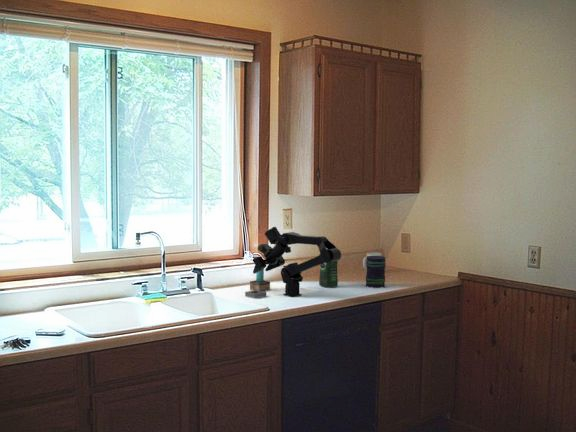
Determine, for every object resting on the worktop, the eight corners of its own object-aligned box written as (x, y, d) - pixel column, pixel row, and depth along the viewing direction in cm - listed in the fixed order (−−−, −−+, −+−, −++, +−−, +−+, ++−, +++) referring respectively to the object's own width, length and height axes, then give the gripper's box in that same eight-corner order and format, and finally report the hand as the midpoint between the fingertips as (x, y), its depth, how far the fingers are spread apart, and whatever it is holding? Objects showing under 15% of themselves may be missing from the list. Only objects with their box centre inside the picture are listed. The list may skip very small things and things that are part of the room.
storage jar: (388, 285, 333) (388, 256, 332) (380, 288, 325) (380, 259, 324) (370, 283, 338) (371, 255, 337) (362, 286, 330) (362, 257, 329)
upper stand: (269, 290, 318) (270, 281, 317) (259, 291, 313) (259, 283, 313) (260, 288, 323) (260, 279, 322) (249, 289, 318) (249, 281, 318)
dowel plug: (265, 283, 317) (265, 263, 317) (259, 284, 315) (259, 264, 314) (260, 282, 320) (260, 262, 319) (254, 283, 318) (254, 263, 317)
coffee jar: (340, 287, 327) (341, 250, 326) (327, 288, 323) (328, 251, 322) (329, 284, 336) (329, 248, 334) (316, 285, 331) (317, 249, 330)
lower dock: (266, 296, 301) (266, 292, 301) (254, 298, 297) (254, 294, 296) (256, 294, 307) (256, 290, 306) (245, 296, 302) (245, 291, 302)
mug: (374, 270, 381) (374, 252, 380) (384, 272, 374) (384, 253, 373) (358, 272, 375) (358, 253, 374) (367, 274, 368) (368, 255, 367)
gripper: (280, 237, 320) (263, 257, 328) (255, 240, 305) (238, 261, 313) (293, 254, 316) (275, 274, 323) (268, 258, 301) (250, 279, 309)
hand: (259, 271), depth 317 cm, fingers open, 9 cm apart
